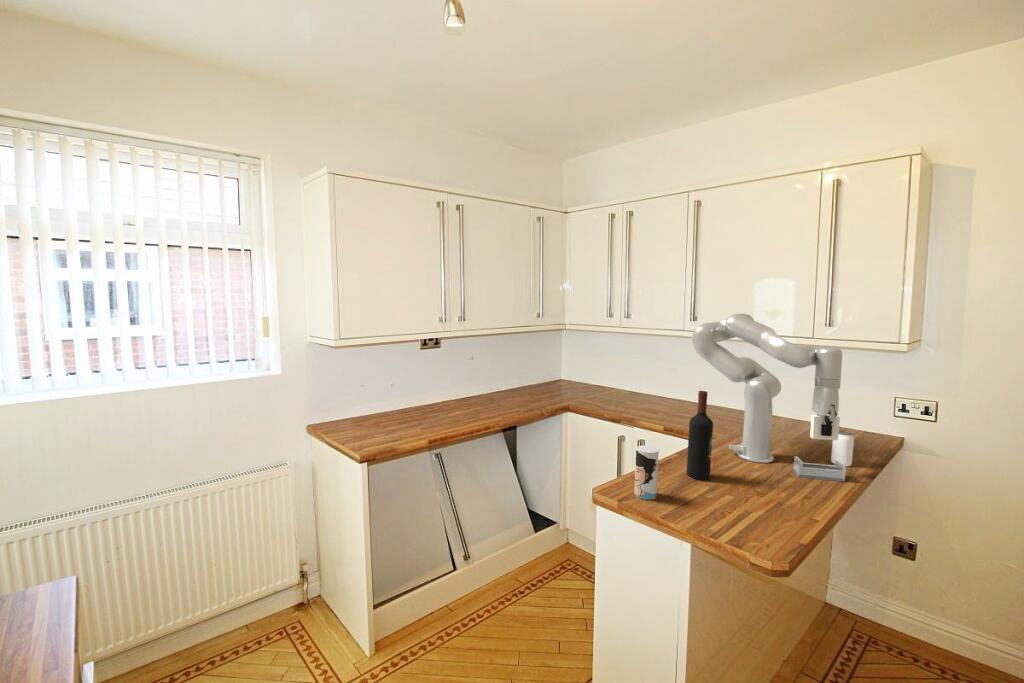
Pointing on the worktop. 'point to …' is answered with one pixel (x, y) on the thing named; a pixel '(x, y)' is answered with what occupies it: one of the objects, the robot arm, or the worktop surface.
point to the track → (820, 470)
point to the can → (843, 448)
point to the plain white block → (816, 428)
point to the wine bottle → (700, 442)
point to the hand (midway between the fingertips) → (824, 433)
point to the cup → (646, 472)
